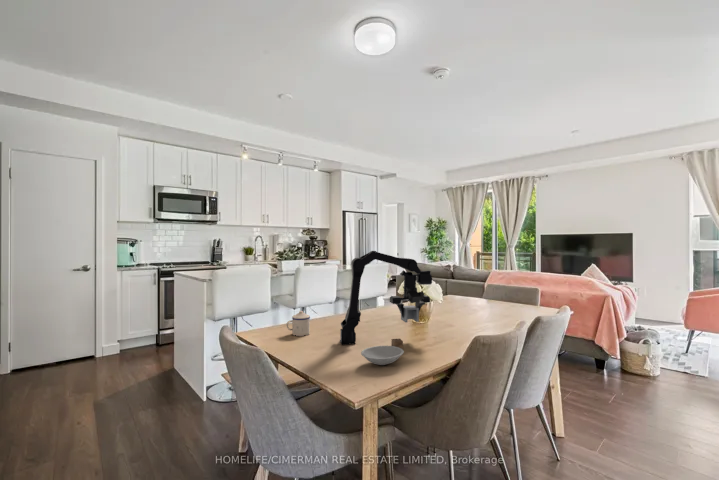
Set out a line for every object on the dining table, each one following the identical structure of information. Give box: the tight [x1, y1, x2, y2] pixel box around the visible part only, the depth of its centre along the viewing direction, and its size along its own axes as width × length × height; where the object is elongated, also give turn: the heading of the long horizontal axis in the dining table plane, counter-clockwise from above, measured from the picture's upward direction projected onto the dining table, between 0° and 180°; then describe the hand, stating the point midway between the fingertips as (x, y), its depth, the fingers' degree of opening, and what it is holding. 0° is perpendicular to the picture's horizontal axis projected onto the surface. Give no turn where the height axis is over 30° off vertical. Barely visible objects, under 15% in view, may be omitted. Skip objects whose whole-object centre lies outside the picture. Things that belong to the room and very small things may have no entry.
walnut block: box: [390, 338, 404, 350], centre depth 153 cm, size 4×4×4 cm
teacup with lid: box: [285, 310, 311, 337], centre depth 176 cm, size 12×9×12 cm
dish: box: [360, 345, 405, 366], centre depth 134 cm, size 18×14×5 cm
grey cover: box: [400, 305, 420, 324], centre depth 166 cm, size 7×7×6 cm
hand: (409, 317), depth 166 cm, fingers closed on grey cover, 7 cm apart
